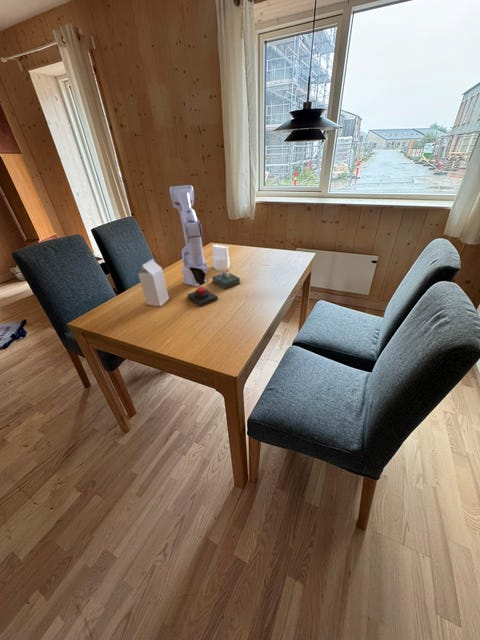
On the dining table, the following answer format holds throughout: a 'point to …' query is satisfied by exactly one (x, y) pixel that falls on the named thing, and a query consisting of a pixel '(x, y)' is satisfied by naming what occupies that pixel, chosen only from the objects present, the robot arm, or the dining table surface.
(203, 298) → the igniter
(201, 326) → the dining table surface
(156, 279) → the milk carton
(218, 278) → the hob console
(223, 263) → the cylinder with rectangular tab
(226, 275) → the hob knob
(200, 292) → the button
